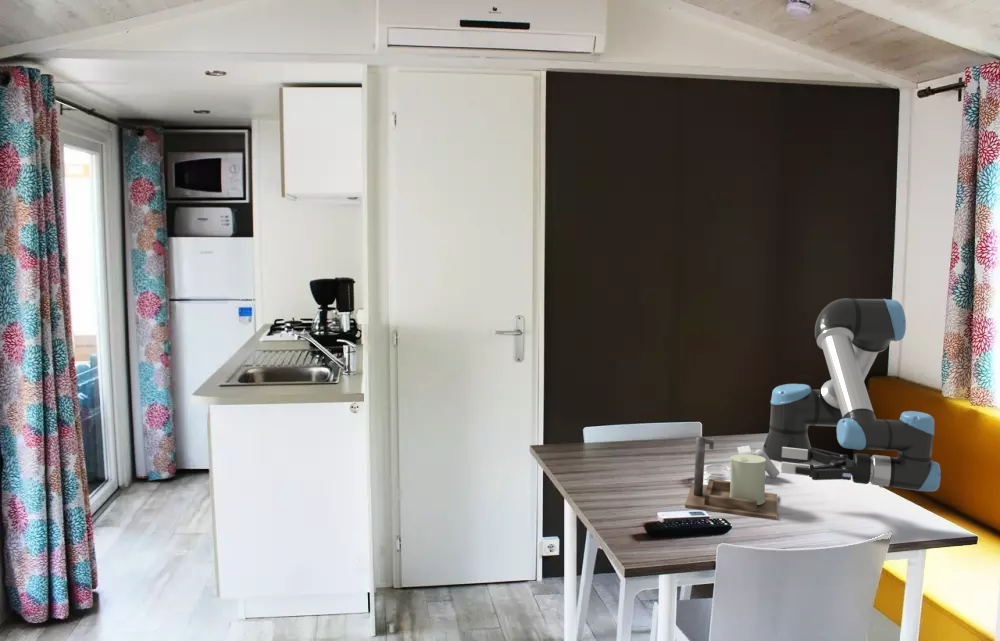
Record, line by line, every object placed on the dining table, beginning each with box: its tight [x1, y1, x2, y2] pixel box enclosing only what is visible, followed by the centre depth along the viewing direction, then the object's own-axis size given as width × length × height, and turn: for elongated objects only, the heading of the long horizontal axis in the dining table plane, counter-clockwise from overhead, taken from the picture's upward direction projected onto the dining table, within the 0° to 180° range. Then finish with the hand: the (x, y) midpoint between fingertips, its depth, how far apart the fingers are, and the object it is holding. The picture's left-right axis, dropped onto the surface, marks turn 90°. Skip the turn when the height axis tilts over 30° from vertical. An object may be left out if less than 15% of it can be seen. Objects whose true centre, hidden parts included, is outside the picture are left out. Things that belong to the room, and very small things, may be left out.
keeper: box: [684, 436, 778, 520], centre depth 209 cm, size 23×18×17 cm
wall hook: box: [736, 445, 780, 479], centre depth 231 cm, size 8×10×10 cm
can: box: [729, 453, 766, 505], centre depth 208 cm, size 9×9×12 cm
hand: (781, 459), depth 204 cm, fingers open, 13 cm apart
